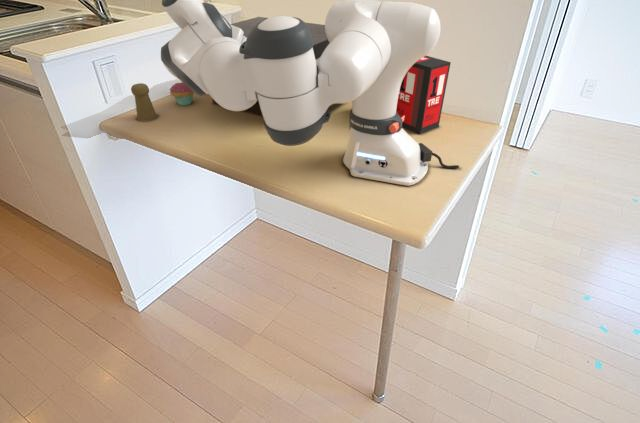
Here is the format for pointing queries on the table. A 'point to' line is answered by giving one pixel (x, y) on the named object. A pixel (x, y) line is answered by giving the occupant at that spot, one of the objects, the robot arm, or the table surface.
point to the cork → (143, 102)
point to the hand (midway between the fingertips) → (239, 64)
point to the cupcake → (182, 93)
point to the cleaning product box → (423, 94)
